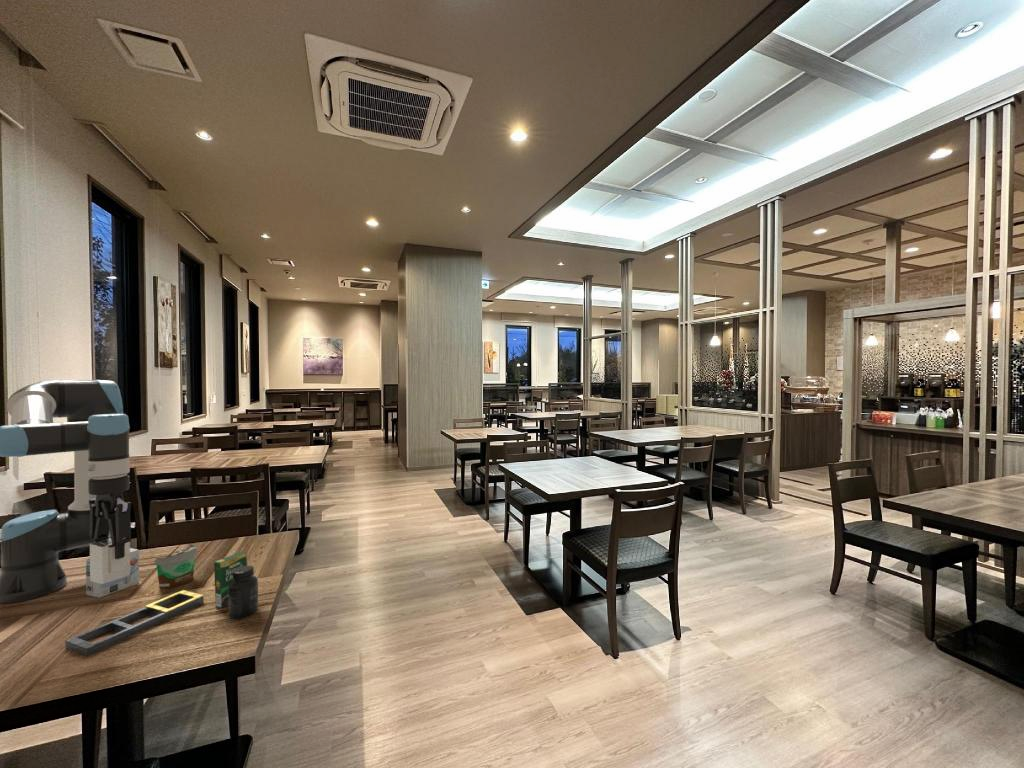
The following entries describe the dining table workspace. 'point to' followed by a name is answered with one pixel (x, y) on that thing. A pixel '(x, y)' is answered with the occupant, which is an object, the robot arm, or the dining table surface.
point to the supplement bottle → (243, 593)
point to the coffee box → (226, 576)
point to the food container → (176, 568)
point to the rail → (127, 630)
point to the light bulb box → (116, 585)
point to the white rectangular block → (106, 562)
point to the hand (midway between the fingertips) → (110, 569)
